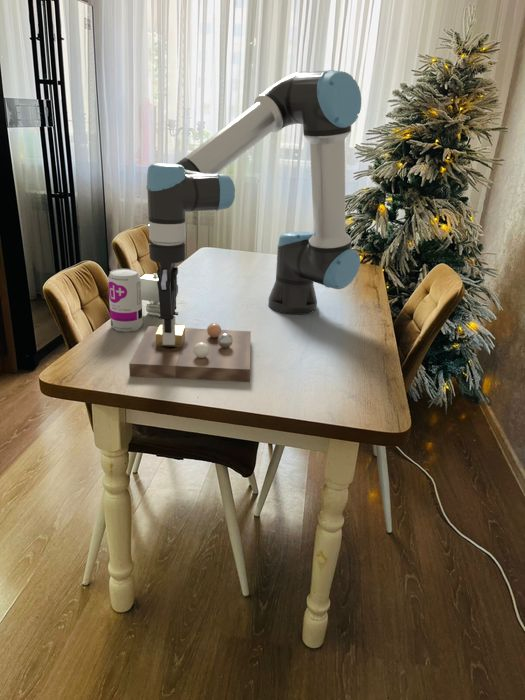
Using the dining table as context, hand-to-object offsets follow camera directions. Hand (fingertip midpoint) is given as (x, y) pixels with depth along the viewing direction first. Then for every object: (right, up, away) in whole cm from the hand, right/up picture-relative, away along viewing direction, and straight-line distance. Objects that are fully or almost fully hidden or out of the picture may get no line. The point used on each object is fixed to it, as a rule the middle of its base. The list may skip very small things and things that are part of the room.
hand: (169, 343), depth 117 cm
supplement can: (-15, +4, +19) cm, 24 cm away
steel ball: (+13, +1, +2) cm, 13 cm away
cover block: (0, +1, +4) cm, 4 cm away
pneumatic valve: (-9, +9, +29) cm, 31 cm away
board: (+6, -3, +4) cm, 7 cm away
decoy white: (+8, -2, -4) cm, 9 cm away
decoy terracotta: (+10, +3, +7) cm, 13 cm away
